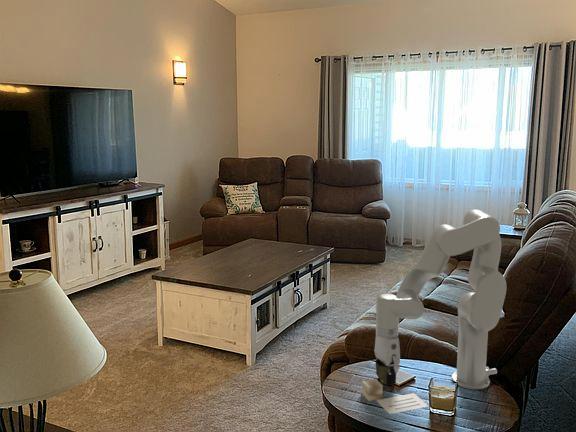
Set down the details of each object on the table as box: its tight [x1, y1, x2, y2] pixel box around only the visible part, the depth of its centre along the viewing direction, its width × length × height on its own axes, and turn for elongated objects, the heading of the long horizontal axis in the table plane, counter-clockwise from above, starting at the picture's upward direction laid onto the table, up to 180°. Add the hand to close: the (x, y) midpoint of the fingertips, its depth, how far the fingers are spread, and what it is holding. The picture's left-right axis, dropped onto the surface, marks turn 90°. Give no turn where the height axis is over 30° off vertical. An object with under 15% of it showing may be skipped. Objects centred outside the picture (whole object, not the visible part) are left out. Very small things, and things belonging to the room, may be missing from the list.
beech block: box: [361, 378, 384, 402], centre depth 190 cm, size 5×5×5 cm
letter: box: [375, 392, 429, 415], centre depth 185 cm, size 14×9×1 cm, turn 109°
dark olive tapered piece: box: [375, 358, 393, 386], centre depth 199 cm, size 8×7×8 cm
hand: (385, 378), depth 199 cm, fingers closed on dark olive tapered piece, 6 cm apart
